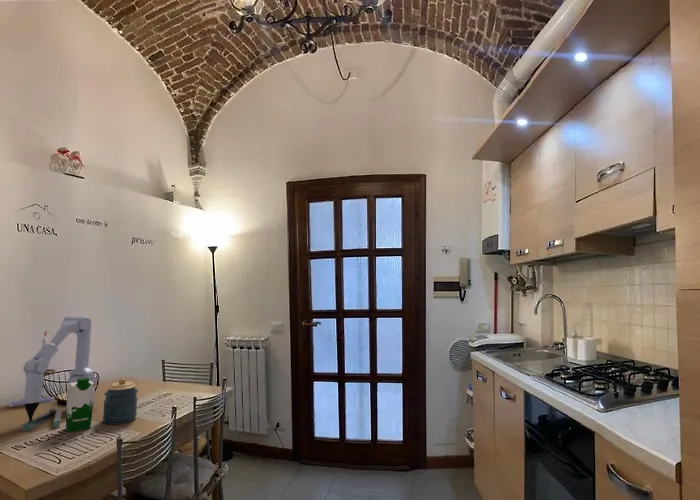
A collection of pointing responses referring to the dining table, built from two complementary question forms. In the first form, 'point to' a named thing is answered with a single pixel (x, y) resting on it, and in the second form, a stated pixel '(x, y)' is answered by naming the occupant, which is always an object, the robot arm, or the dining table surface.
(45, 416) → the tong leg
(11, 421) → the dining table surface
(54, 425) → the tongs fixed
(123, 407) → the canister
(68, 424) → the milk carton
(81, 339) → the robot arm
